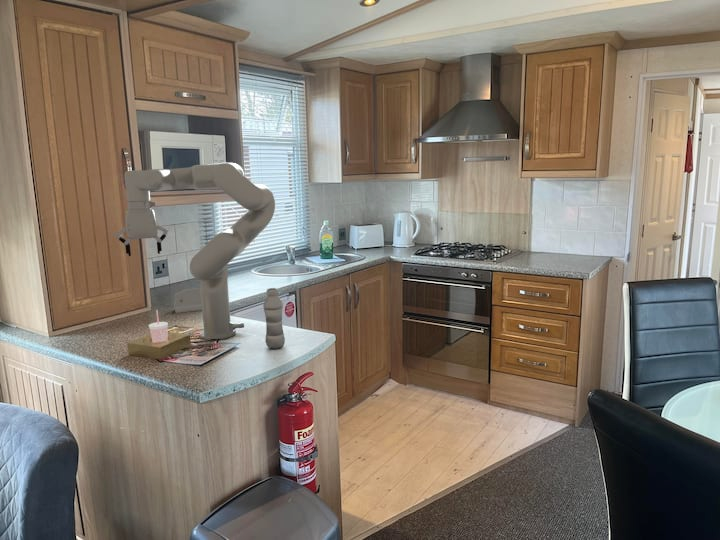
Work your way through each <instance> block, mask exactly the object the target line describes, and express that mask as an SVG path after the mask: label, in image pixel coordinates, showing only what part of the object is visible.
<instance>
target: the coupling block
mask: <svg viewBox="0 0 720 540" xmlns="http://www.w3.org/2000/svg"><path fill="white" fill-rule="evenodd" d="M191 342H192V341H191V334H189V333H180V332H174V331H173V332H171V331H168V340H166V341H163V342H155V343H153V342H152V337H151V333H149V334H146V335H145V336H142V337H139V338H137V339H134V340H132V341H131V340H130V341H128V342H127V343H126V345H127V346H126V347H127V353H128V355H130V356H135V357H136V356H137V357H144V358H149V359H157V360H163V359H165V358H167V357H169V356H171V355H174V354H175V353H178V352H180V350H181V351H182V349H183V350H185V349H187V348H189V347H191V346H192V343H191ZM190 345H191V346H190ZM188 346H189V347H188ZM186 347H187V348H186ZM184 348H185V349H184Z"/></svg>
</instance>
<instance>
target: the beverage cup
mask: <svg viewBox="0 0 720 540" xmlns="http://www.w3.org/2000/svg"><path fill="white" fill-rule="evenodd" d="M155 311H156V322H151V323H149V324H148V329H149V330H150V334H151V337H152V342H153V343H155V342H163V341H166V340H168V332H169V331H168V327H169V323H168V322H167V321H160V320H159V319H160V318H159V311H158V309H155Z"/></svg>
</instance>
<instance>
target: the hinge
mask: <svg viewBox="0 0 720 540" xmlns="http://www.w3.org/2000/svg"><path fill="white" fill-rule="evenodd" d="M173 305H174V309H173V311H175V314H179V313H185V312H186V313H187V312H193V311H194V312H195V311H202V301H201V287H200V288H199V287H198V288H196V287H195V288H188V289H184V290H181V291H179V292H177V293H175V294H174V303H173Z"/></svg>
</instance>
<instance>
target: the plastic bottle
mask: <svg viewBox="0 0 720 540" xmlns="http://www.w3.org/2000/svg"><path fill="white" fill-rule="evenodd" d="M278 289H279V288H276V287H271V288H267V289H266V296H267V297H266V298H265V299H264V302H263V310H264V311H263V312H264V317H265V323H266V325H265V327H266V330H265V331H266V332H265V345H266V346H267V347H268V349H279V348H282V347H284V345H285V343H286V342H285V341H286V337H285V333H284V329H283V328H284V327H283V308H284V307H283V305H284V304H283V301H282V300H281V298H280V297H279V296H278V295H279V290H278Z"/></svg>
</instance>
